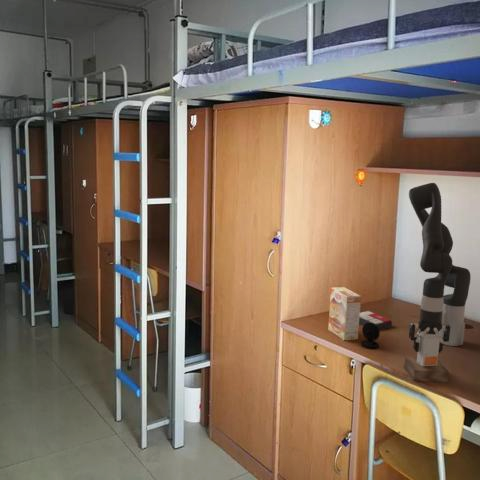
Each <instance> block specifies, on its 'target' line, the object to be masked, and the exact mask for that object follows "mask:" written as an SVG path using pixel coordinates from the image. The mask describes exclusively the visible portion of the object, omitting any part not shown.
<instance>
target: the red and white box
mask: <svg viewBox="0 0 480 480" xmlns="http://www.w3.org/2000/svg"><path fill="white" fill-rule="evenodd" d="M369 322H371V323H374V324H376V325H377V327H378V328H379V331H380V330H383V329H387V328H392V326H393V325H392V324H393V321H392V320H391V319H389V318H387V317H384V316H383V315H380V314H377V313H374V312H372V311H370V310H367V311H362V312H361V311H360V316H359V325H361V326H362V327H363V326H364V325H365V324H366V323H369Z"/></svg>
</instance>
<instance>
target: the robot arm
mask: <svg viewBox="0 0 480 480" xmlns="http://www.w3.org/2000/svg"><path fill="white" fill-rule="evenodd" d="M408 198H409V201H410V203H411V206H412V208H413V210H414V212H415V214H416V216H417V219H418V220H419V222H420V224H421V228H422V230H421V237H422V239H421V240H422V245H423V248H422V254H421V258H420V263H419V266H420V268H421V270H422V272H425V273H431V274H432V273H435V274H437V275H436V276H435V277H429V278H426V279H424V282H423V286H422V296H421V301H420V311H419V321H418V323H415V322H414V323H413V322H410V323H409V332H408V333H409V334H408V338H409V340H411V341H413V350H414V351H415V352H416V353H418V352H419V341H420V339H421V338H423V337H424V335H425V334H436V335H437V337H438V339H439V338H440V343H439V352H438V354H440V353H442V351H443V347H444V345H445V346H450V347H452V346H453V347H457V346H464V337H465V329H466V323H465V322H464V321H465V320H464V319H465V310H466V302H467V301H468V300H467V299H468V297H469V291H470V285H471V272H470V270H469V269H468V268H466V267H461V266H457V265H454V264H453V258H452V256H451V255H450V254H451V252H452V249H453V245H454V241H453V237H452V234H451V231H450V230H449V228H448V226H446V224H444V223H443V222H442V195H441V192H440V188H439V187H438V185H437V183H435V182H429V183H425V184H422V185H418V186H414V187H412V188H410V189H409V191H408ZM429 208H431V209H430V212H428V211H427V210H426V209H429ZM445 286H446V287H449V288H452V289H453V293H451V294H450V293H449V294H445ZM418 328H419V330H417V329H418ZM416 330H417V332H416ZM420 332H422V333H421V334H420ZM415 333H416V334H415Z"/></svg>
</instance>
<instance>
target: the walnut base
mask: <svg viewBox="0 0 480 480" xmlns="http://www.w3.org/2000/svg"><path fill="white" fill-rule="evenodd" d="M403 362H404V364H403V368H404V369H405V371H406V372H407V374H408V375H409V377H410V379H412V381H413V382H429V383H430V382H431V383H432V382H433V383H449V382H448V380H449V370H448V369H447V368H446V367H445V366H444V365H443V364H442V362H441V361H440V360H439V359H438V360H437V366H421V365H420V364H418V363H417V357H404V361H403Z"/></svg>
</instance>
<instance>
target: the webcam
mask: <svg viewBox="0 0 480 480" xmlns="http://www.w3.org/2000/svg"><path fill="white" fill-rule="evenodd" d="M361 329H362V331H361V333H362V336H363V337H364V338H365V340H362V341H361V342H360V346H361V347H363V348H365V349H371V350H375V349H378V348H380V344H379V343H378V342H377V340H378V339H379V337H380V330H379V328H378V327H377V325H376V324H374V323H371V322H369V323H366V324H365V325H364V326H363V325H362V328H361Z"/></svg>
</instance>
